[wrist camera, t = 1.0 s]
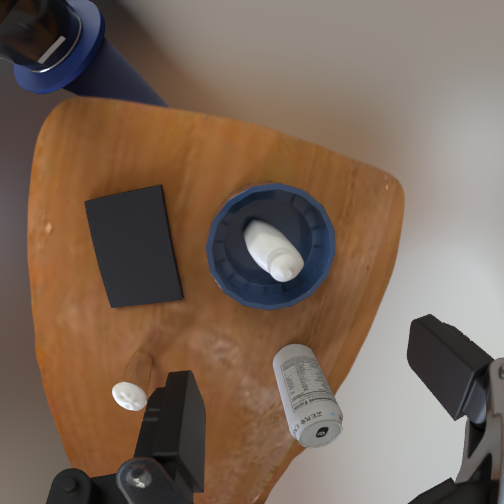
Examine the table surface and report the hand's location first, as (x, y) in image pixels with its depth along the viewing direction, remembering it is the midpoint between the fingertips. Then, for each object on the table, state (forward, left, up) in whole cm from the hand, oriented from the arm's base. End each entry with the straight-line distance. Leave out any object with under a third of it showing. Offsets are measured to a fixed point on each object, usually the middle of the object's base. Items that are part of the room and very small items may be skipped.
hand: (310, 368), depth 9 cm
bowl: (+2, +2, -26) cm, 26 cm away
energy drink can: (+20, +4, -26) cm, 33 cm away
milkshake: (+17, -17, -26) cm, 35 cm away
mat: (+1, -14, -26) cm, 29 cm away
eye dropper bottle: (+2, +2, -26) cm, 26 cm away
